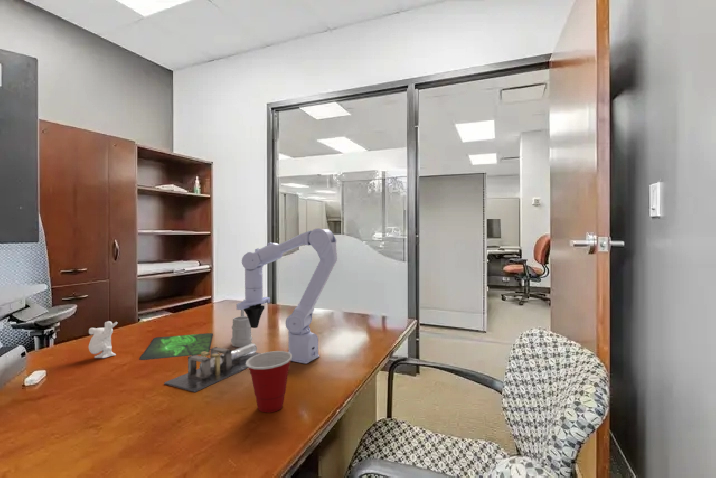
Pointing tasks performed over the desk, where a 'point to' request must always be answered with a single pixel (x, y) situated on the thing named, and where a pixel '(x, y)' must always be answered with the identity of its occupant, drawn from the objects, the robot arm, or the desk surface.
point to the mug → (241, 331)
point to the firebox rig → (203, 379)
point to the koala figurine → (102, 340)
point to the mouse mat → (177, 346)
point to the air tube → (234, 355)
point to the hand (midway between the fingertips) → (254, 327)
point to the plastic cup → (269, 378)
